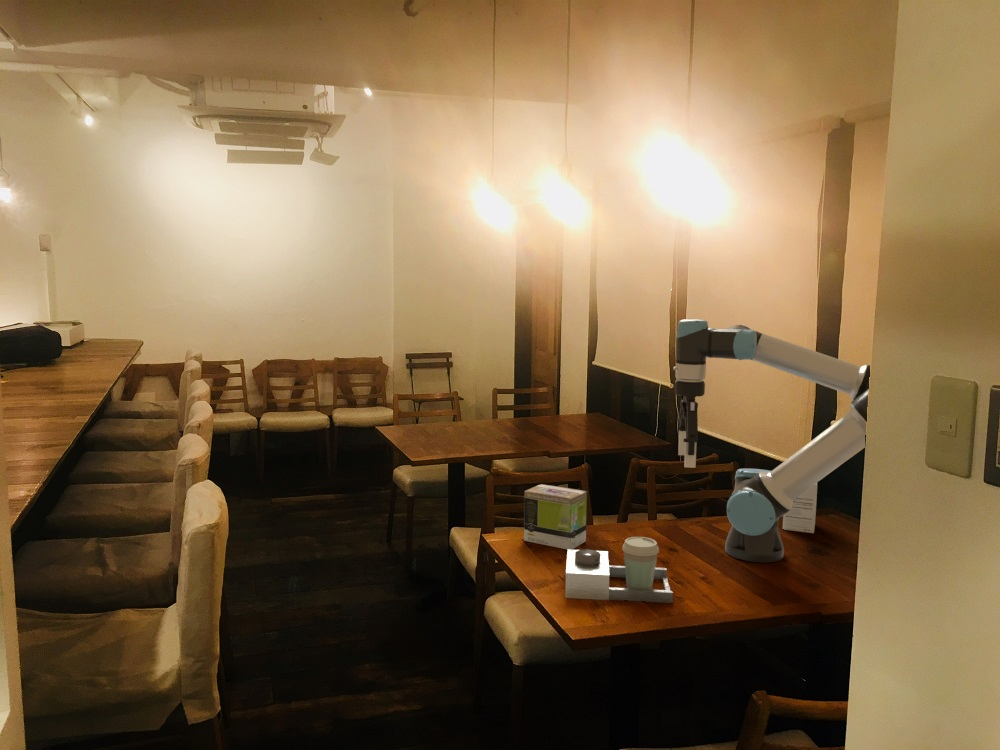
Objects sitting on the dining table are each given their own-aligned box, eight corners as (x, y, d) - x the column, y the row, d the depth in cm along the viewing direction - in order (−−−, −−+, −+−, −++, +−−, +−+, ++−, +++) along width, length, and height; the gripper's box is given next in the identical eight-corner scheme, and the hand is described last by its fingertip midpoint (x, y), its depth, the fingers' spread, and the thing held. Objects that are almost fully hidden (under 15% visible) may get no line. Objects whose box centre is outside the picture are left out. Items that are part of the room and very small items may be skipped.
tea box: (586, 541, 226) (588, 490, 224) (570, 551, 217) (571, 498, 215) (540, 531, 234) (541, 482, 232) (522, 541, 225) (523, 490, 223)
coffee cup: (657, 599, 187) (659, 549, 185) (620, 595, 188) (621, 546, 187) (657, 585, 195) (659, 537, 193) (622, 582, 197) (623, 534, 195)
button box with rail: (665, 577, 200) (667, 546, 199) (672, 603, 184) (673, 570, 183) (567, 572, 202) (567, 541, 201) (565, 597, 187) (566, 564, 186)
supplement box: (783, 521, 246) (786, 473, 245) (815, 525, 243) (818, 476, 241) (781, 529, 238) (784, 480, 236) (814, 533, 235) (817, 484, 233)
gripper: (670, 373, 218) (667, 449, 221) (680, 386, 194) (677, 472, 197) (698, 374, 218) (694, 450, 220) (712, 387, 193) (708, 473, 196)
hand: (686, 461), depth 209 cm, fingers open, 13 cm apart
